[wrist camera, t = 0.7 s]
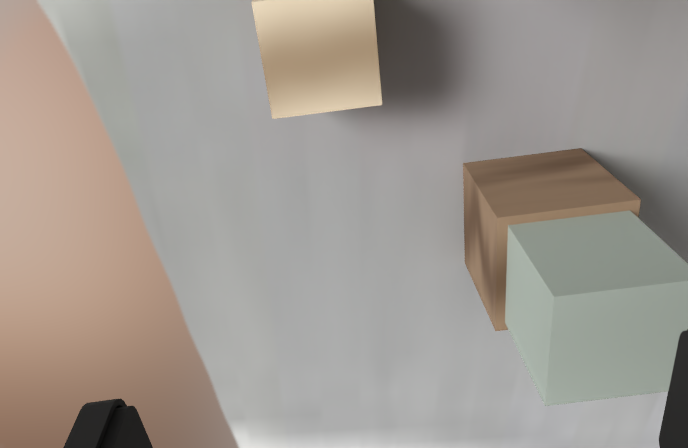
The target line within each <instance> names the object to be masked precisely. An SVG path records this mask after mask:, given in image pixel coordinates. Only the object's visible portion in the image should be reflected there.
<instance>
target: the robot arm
mask: <svg viewBox="0 0 688 448" xmlns="http://www.w3.org/2000/svg"><path fill="white" fill-rule="evenodd" d="M659 445H660V448H688V329H687V330H686V331H683V332H682V333H681V334H680V337H679V341H678V346H677V351H676V356H675V361H674V366H673V371H672V376H671V381H670V386H669V391H668V396H667V401H666V406H665V411H664V416H663V421H662V426H661V431H660V436H659ZM64 448H153V447H152V445H151V442H150V440H149V438H148V435H147V433H146V431H145V428H144V426H143V424H142V421H141V419H140V417H139V414H138V412H137V410H136V408H135V407H134V406H127V405H126V404H125V402H124V401H123V400H122V399H113V400H106V401H99V402H91V403H87V404H85V405H84V406H83V407H82V409H81V410H80V412H79V414H78V417H77V419H76V421H75V423H74V426H73V428H72V430H71V432H70V435H69V437H68V439H67V441H66V443H65V446H64Z"/></svg>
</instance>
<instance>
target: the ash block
mask: <svg viewBox="0 0 688 448" xmlns="http://www.w3.org/2000/svg"><path fill="white" fill-rule="evenodd" d="M252 8H253V13H254V19H255V24H256V30H257V35H258V41H259V47H260V52H261V58H262V63H263V69H264V74H265V80H266V86H267V91H268V97H269V102H270V108H271V113H272V119H276V118H284V117H292V116H300V115H307V114H315V113H323V112H331V111H339V110H347V109H355V108H362V107H370V106H378V105H382V95H381V84H380V72H379V60H378V48H377V36H376V24H375V12H374V0H253V1H252Z"/></svg>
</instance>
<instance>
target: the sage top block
mask: <svg viewBox="0 0 688 448" xmlns="http://www.w3.org/2000/svg"><path fill="white" fill-rule="evenodd" d="M505 324H506V326H507V328H508V330H509V332H510V334H511V336H512V338H513V340H514V342H515V344H516V346H517V349H518V351H519V353H520V355H521V357H522V359H523V361H524V363H525V365H526V367H527V369H528V371H529V373H530V376H531V378H532V380H533V382H534V384H535V386H536V388H537V390H538V392H539V394H540V396H541V398H542V401H543V403H544V405H545V406H550V405H559V404H567V403H575V402H583V401H592V400H600V399H608V398H617V397H625V396H633V395H642V394H650V393H658V392H667V391H669V386H670V381H671V376H672V371H673V366H674V361H675V356H676V351H677V346H678V341H679V337H680V334H681V333H682V332H683V331H686V330H687V329H688V263H687V262H686V261H684V260H683V259H682V258H681V257H680V256H679V255H678V254H677V253H676V252H675V251H674V250H672V249H671V248H670V247H669V246H668V245H667V244H666V243H665V242H664V241H663V240H662V239H661V238H659V237H658V236H657V235H656V234H655V233H654V232H653V231H652V230H651V229H650V228H649V227H648V226H646V225H645V224H644V223H643V222H642V221H641V220H640V219H639V218H638V217H637V216H636V215H635V214H633V213H632V212H631V211H630V210H629V211H621V212H613V213H605V214H596V215H588V216H580V217H572V218H564V219H555V220H547V221H539V222H531V223H522V224H514V225H508V241H507V273H506V305H505Z"/></svg>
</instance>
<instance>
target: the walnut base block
mask: <svg viewBox="0 0 688 448" xmlns="http://www.w3.org/2000/svg"><path fill="white" fill-rule="evenodd" d="M463 179H464V238H465V264H466V266H467V269H468V271H469V273H470V275H471V277H472V280H473V282H474V284H475V286H476V289H477V291H478V293H479V295H480V297H481V300H482V302H483V304H484V306H485V308H486V311H487V313H488V315H489V317H490V320H491V322H492V324H493V326H494V328H495V331H500V330H508V328H507V326H506V324H505V305H506V273H507V241H508V225H514V224H522V223H531V222H539V221H547V220H555V219H564V218H572V217H580V216H588V215H596V214H605V213H613V212H621V211H629V210H630V211H631V212H632V213H633V214H635V215H636V216H637V217H638V216H639V210H640V203H641V199H640V198H639V197H637V196H636V195H635V194H634V193H633V192H632V191H630V190H629V189H628V188H627V187H626V186H625V185H623V184H622V183H621V182H620V181H619V180H618V179H616V178H615V177H614V176H613V175H612V174H611V173H609V172H608V171H607V170H606V169H605V168H604V167H602V166H601V165H600V164H599V163H598V162H597V161H595V160H594V159H593V158H592V157H591V156H589V155H588V154H587V153H586V152H585V151H584V150H582V149H581V148H579V149H571V150H563V151H556V152H548V153H540V154H532V155H524V156H516V157H509V158H501V159H493V160H485V161H477V162H469V163H463Z"/></svg>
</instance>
